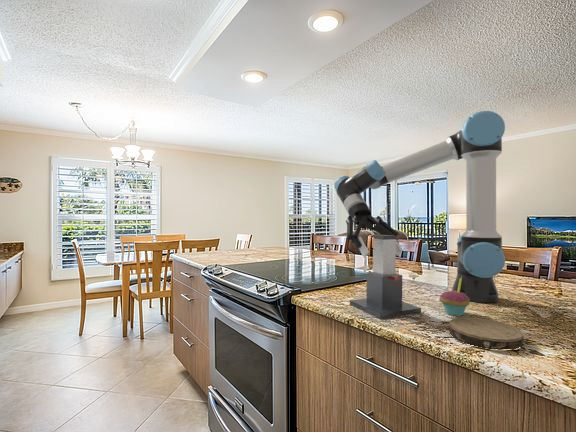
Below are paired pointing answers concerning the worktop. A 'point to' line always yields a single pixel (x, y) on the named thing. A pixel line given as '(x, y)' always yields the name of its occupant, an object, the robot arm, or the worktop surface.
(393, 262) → the column
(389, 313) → the stand base
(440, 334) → the worktop surface
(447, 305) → the cupcake
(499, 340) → the wooden slice coaster
